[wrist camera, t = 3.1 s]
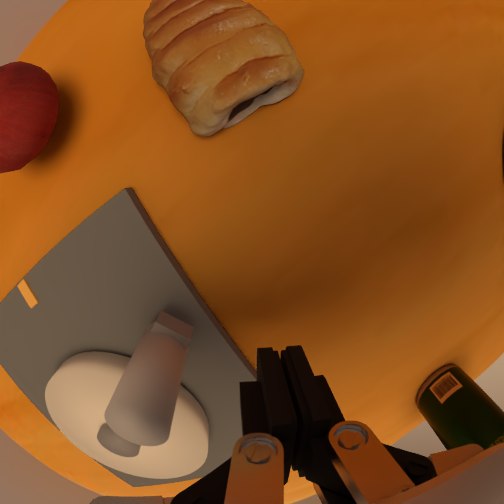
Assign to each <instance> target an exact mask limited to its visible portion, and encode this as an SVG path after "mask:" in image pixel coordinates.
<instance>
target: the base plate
mask: <svg viewBox="0 0 504 504" xmlns="http://www.w3.org/2000/svg"><path fill="white" fill-rule="evenodd" d="M161 310H162V311H163V312H165V313H167V314H169V315H171V316H173V317H175V318H177V319H179V320H181V321H183V322H185V323H187V324H189V325H191V326H193V327H194V329H193V333H192V337H191V341H190V342H189V348H188V352H187V357H186V361H185V365H184V370H183V374H182V379H181V383H180V385H181V386H183V387H184V388H185V389H186V390H187V391H188V392H189V393H190V394H191V395H192V396H193V397H194V398H195V399H196V400H197V401H198V403H199V404H200V406H201V407H202V409H203V410H204V412H205V414H206V416H207V419H208V423H209V442H208V454H207V458H206V460H205V462H204V464H203V465H202V466H201V467H200V468H199V469H197V470H196V471H194V472H192V473H190V474H188V475H185V476H182V477H177V478H169V479H154V478H145V477H139V476H134V475H131V474H127V473H124V472H121V471H118V470H115V469H113V468H110V467H108V466H106V465H104V464H102V463H100V462H98V461H97V462H98V463H99V464H101V465H102V466H103V467H105V468H106V469H107V470H109V471H110V472H112V473H113V474H114V475H116V476H117V477H119V478H120V479H122V480H123V481H125V482H126V483H128V484H130V485H131V486H133V487H140V486H150V485H159V484H167V483H173V482H180V481H186V480H191V479H196V478H201V477H204V476H206V475H207V474H209V473H210V472H211V471H213V470H214V469H216V468H217V467H218V466H220V465H221V464H222V463H224V462H225V461H226V460H228V459H229V458H230V457H232V453H233V448H234V445H235V443H236V442H237V441H238V440H239V438H241V437H242V424H241V409H240V385H239V382H246V381H257V372H256V371H255V369H254V368H253V367H252V366H251V364H250V363H249V362H248V360H247V359H246V358H245V357H244V355H243V354H242V353H241V351H240V350H239V349H238V347H237V346H236V345H235V343H234V342H233V341H232V339H231V338H230V337H229V335H228V334H227V332H226V331H225V330H224V328H223V327H222V326H221V324H220V323H219V321H218V320H217V319H216V317H215V316H214V315H213V313H212V312H211V310H210V309H209V307H208V306H207V305H206V303H205V302H204V300H203V299H202V297H201V296H200V295H199V293H198V292H197V290H196V289H195V287H194V286H193V284H192V283H191V281H190V280H189V278H188V277H187V275H186V274H185V272H184V271H183V269H182V268H181V266H180V265H179V263H178V262H177V260H176V259H175V257H174V256H173V254H172V253H171V251H170V250H169V248H168V246H167V245H166V243H165V242H164V240H163V239H162V237H161V235H160V234H159V232H158V231H157V229H156V227H155V226H154V224H153V222H152V221H151V219H150V218H149V216H148V214H147V213H146V211H145V209H144V208H143V206H142V204H141V203H140V201H139V199H138V198H137V196H136V194H135V192H134V191H133V189H132V188H125V189H124V190H122V191H121V192H120V193H118V194H117V195H116V196H114V197H113V198H112V199H110V200H109V201H108V202H107V203H105V204H104V205H103V206H101V207H100V208H99V209H98V210H96V211H95V212H94V213H93V214H92V215H90V216H89V217H88V218H87V219H86V220H84V221H83V222H82V223H81V224H80V225H78V226H77V227H76V228H75V229H74V230H73V231H72V232H70V233H69V234H68V235H67V236H66V237H65V238H64V239H63V240H61V241H60V242H59V243H58V244H57V245H56V246H55V247H54V248H53V249H52V250H51V251H50V252H49V253H48V254H46V255H45V256H44V257H43V258H42V259H41V260H40V261H39V262H38V263H37V264H36V265H35V266H34V267H33V268H32V269H31V270H30V271H29V272H28V273H27V274H26V275H25V277H24V278H23V279H22V280H21V281H20V282H19V283H18V284H17V285H16V286H15V287H14V288H13V289H12V291H11V292H10V293H9V294H8V295H7V296H6V297H5V298H4V300H3V301H2V302H1V303H0V364H1V365H2V367H3V368H4V369H5V371H6V372H7V373H8V375H9V376H10V377H11V378H12V380H13V381H14V382H15V383H16V385H17V386H18V387H19V388H20V389H21V391H22V392H23V393H24V394H25V395H26V396H27V397H28V399H29V400H30V401H31V402H32V403H33V404H34V405H35V406H36V407H37V408H38V409H39V411H40V412H41V413H42V414H43V415H44V416H45V417H46V418H47V419H48V420H49V421H50V422H51V423H52V424H53V425H54V426H55V427H57V426H56V424H55V423H54V421H53V419H52V418H51V416H50V414H49V411H48V409H47V406H46V401H45V389H46V386H47V384H48V382H49V380H50V379H51V378H52V376H53V375H54V374H55V372H56V371H57V370H58V369H59V367H60V366H61V365H62V364H63V362H64V361H65V360H67V359H68V358H69V357H71V356H74V355H76V354H79V353H83V352H94V351H95V352H107V353H113V354H118V355H122V356H126V357H129V358H131V357H132V355H133V353H134V351H135V349H136V347H137V345H138V343H139V341H140V339H141V337H142V336H143V334H144V332H145V330H146V328H147V327H148V326H149V325H150V324H151V323H153V322H155V321H156V320H157V318H158V316H159V314H160V312H161ZM57 428H58V427H57ZM58 429H59V428H58ZM94 460H95V459H94ZM95 461H96V460H95Z"/></svg>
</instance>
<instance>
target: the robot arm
mask: <svg viewBox="0 0 504 504" xmlns="http://www.w3.org/2000/svg"><path fill="white" fill-rule="evenodd" d="M239 385H240V409H241V424H242V437H241V438H239V440H238V441H237V442H236V443H235V445H234V448H233V453H232V457H230V458H229V459H228V460H226V461H225V462H224V463H222V464H221V465H220V466H218V467H217V468H216V469H214V470H213V471H211V472H210V473H209V474H207V475H206V476H204V477H203V478H202V479H200V480H199V481H197V482H196V483H194V484H193V485H191V486H190V487H188V488H186V489H185V490H183V491H182V492H180V493H179V494H177V495H176V496H175V497H167V498H163V497H162V496H143V497H119V496H101V497H97V498H95V499H93V500H92V501H91V503H90V504H284V485H285V484H286V483H287V482H288V477H289V473H290V468H291V466H292V469H293V471H295V470H298V473H299V477H304V476H305V477H306V479H307V480H309V481H311V482H313V486H314V489H315V491H316V493H317V495H318V497H319V499H320V501H321V503H322V504H504V443H501V444H498V445H495V446H493V447H490V448H488V449H486V450H484V449H483V448H482V447H481V446H479V445H477V444H468V445H465V446H461V447H458V448H454V449H450V450H447V451H443V452H438V453H434V454H430V456H429V457H425V456H422V455H419V454H416V453H412V452H408V451H405V450H402V449H398V448H395V447H392V446H389V445H386V444H383V443H381V442H380V441H379V439H378V438H377V437H376V435H375V434H374V433H373V432H372V430H371V429H370V428H369V427H368V426H367V425H365V424H363V423H361V422H358V421H345V419H344V417H343V415H342V413H341V410H340V408H339V406H338V404H337V402H336V400H335V398H334V395H333V393H332V391H331V389H330V387H329V385H328V383H327V381H326V379H325V377H324V376H323V375H319V376H314V374H313V372H312V369H311V367H310V365H309V362H308V360H307V358H306V355H305V353H304V351H303V348H302V346H301V345H298V346H287V347H286V350H282V351H281V358H280V357H279V354H278V351H273V349H272V347H269V348H257V381H246V382H239Z"/></svg>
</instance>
